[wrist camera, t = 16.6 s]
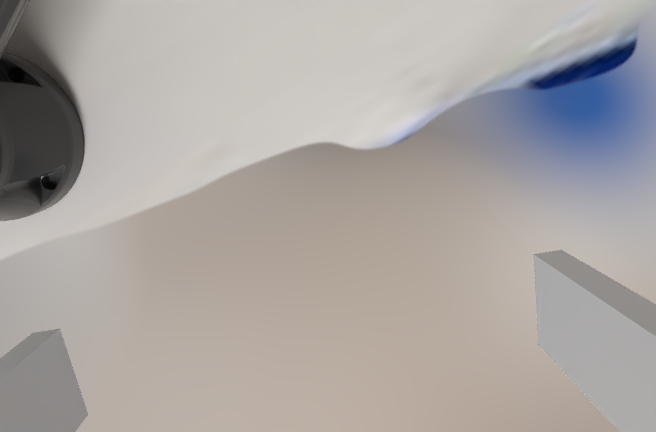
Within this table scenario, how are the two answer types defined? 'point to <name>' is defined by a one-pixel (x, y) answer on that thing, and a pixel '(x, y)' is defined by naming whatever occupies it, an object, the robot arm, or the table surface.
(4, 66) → the robot arm
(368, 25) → the table surface
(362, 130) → the table surface
